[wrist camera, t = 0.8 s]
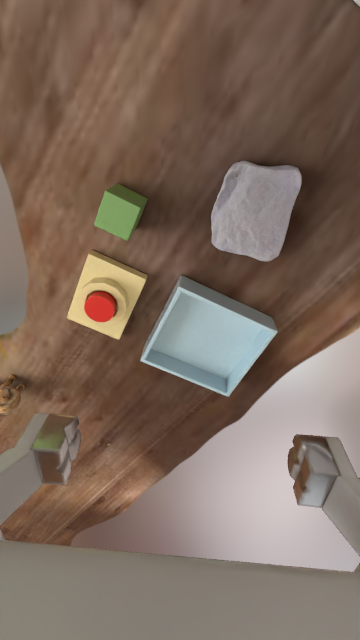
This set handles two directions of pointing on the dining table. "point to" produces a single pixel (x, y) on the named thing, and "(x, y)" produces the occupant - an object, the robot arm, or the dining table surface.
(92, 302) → the button
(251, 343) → the basin
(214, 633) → the robot arm
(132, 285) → the button housing
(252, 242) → the stone block
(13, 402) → the lion figurine
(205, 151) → the dining table surface
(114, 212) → the green block
